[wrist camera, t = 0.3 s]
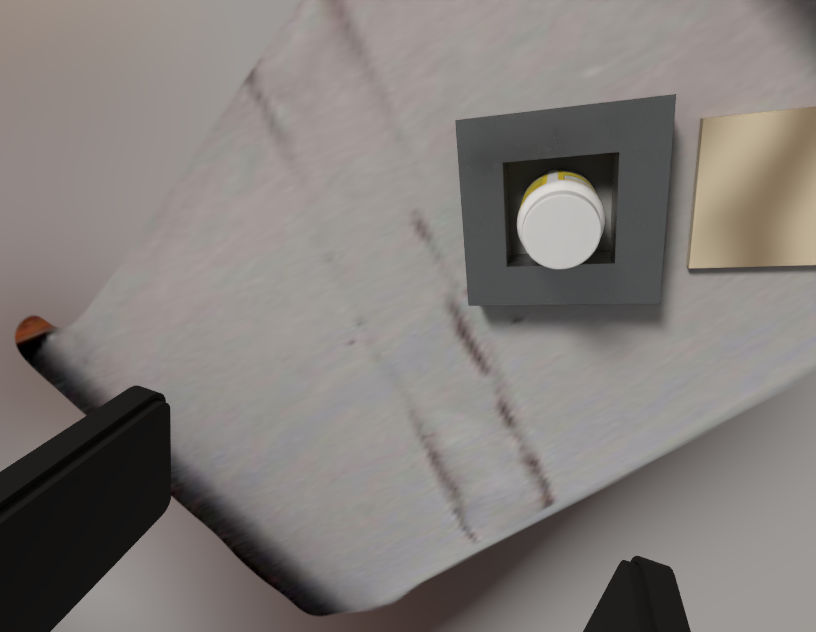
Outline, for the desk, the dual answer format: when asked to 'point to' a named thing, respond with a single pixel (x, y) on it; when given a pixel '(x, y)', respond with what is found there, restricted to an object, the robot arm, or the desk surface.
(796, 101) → the desk surface
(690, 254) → the pad
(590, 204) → the supplement bottle
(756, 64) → the desk surface
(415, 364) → the desk surface
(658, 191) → the socket block
